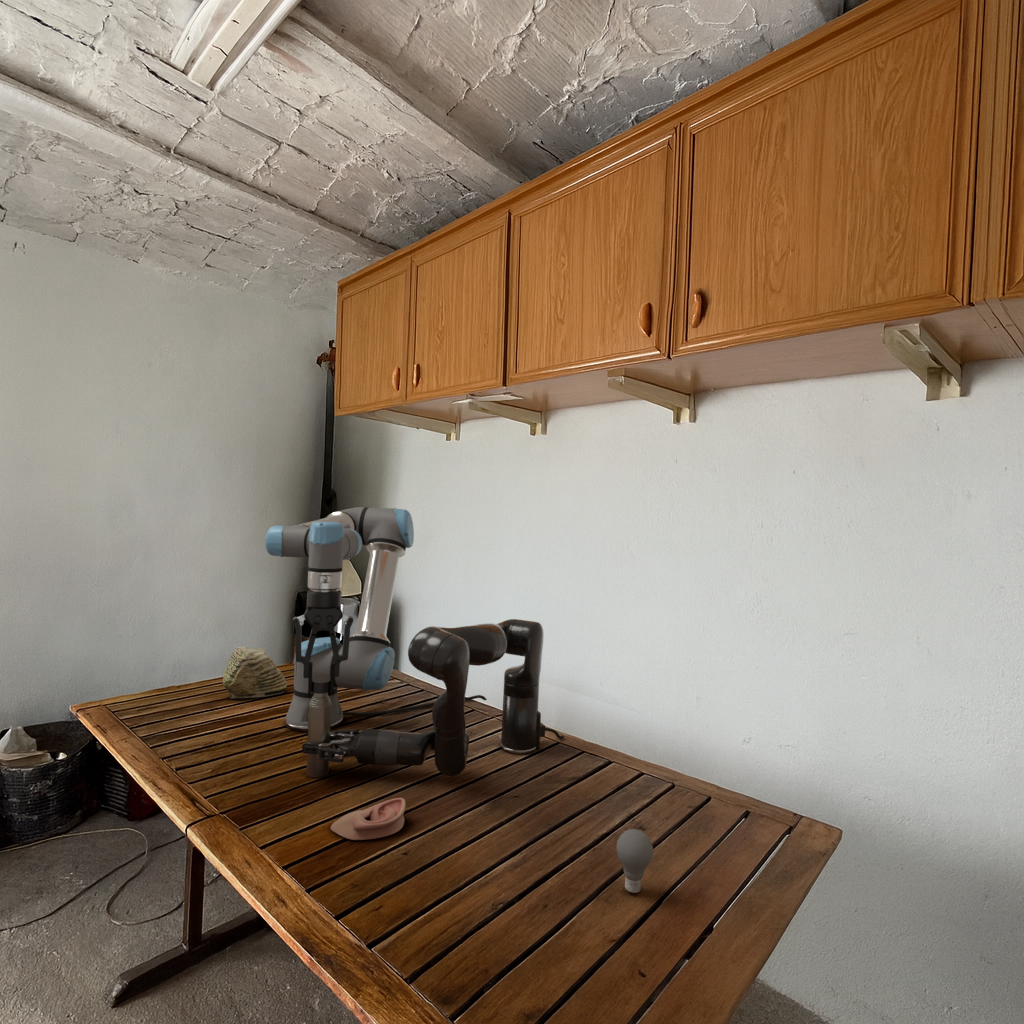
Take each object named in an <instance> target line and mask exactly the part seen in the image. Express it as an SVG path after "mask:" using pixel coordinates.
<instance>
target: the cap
mask: <svg viewBox="0 0 1024 1024" xmlns="http://www.w3.org/2000/svg"><path fill="white" fill-rule="evenodd" d="M328 692H330V679H329V678H315V679H313V680H312V693H316V694H323V693H328Z"/></svg>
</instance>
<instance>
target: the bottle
mask: <svg viewBox="0 0 1024 1024" xmlns="http://www.w3.org/2000/svg"><path fill="white" fill-rule="evenodd" d="M327 694H328V693H323V694H316V693H314V696H313V697H312V699H311V701H310V703H309V721H308V732H307V743H320V744H321V743H329V742H330V733H331V729H330V726H331V700H330V698H329V696H328V695H327ZM328 748H330V747H328ZM306 756H307V757H306V775H307V776H308V777H310V778H323V777H325V776H327V775H328V774H329V772H330V761H326V760H320V759H319V754H306Z"/></svg>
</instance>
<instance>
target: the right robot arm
mask: <svg viewBox="0 0 1024 1024" xmlns="http://www.w3.org/2000/svg"><path fill="white" fill-rule="evenodd" d="M544 634H545V633H544V628H543V625H542V624H541V623H540V622H538V621H534V620H527V619H526V620H525V619H516V618H509V619H506V620H503V621H501V622H498V623H479V624H478V623H477V624H473V625H463V626H458V627H457V626H455V627H443V626H433V625H432V626H431V625H430V626H426V627H424V628H423V629H421V630H419V631H418V632H416V634H415V635H414V637H412V639H411V641H410V643H409V645H408V650H407V657H408V660H409V663H410V664H411V666H413V668H415V669H416V670H417V671H419V672H421V673H423V674H426V675H427V676H429V677H431V678H434V679H436V680H437V681H442V682H443V683H444V686H445V690H444V691H443V692H442V693H441V694H439V696H438V697H437V698H436V700H435V701H434V702H435V703H434V706H432V711H431V717H432V727H433V729H432V730H428V731H423V732H406V731H397V730H392V729H391V730H390V729H373V728H363V729H362V730H359V729H335V730H333V731H332V732H330V742H329V743H321V744H320V743H308V742H303V744H302V746H301V747H302V748H301V753H302V754H306V755H307V754H319V759H320V760H326V761H329V762H333V763H336V764H337V763H338V764H342V763H344V759H345V758H353V757H355V758H356V761H357V763H358V764H360V765H373V766H374V765H375V766H413V767H416V766H422V765H423V764H424V763H425V761H426V759H427V757H428V755H429V754H430V753H431V752H434V764H435V768H436V769H437V770H438V772H439V773H440V774H442V775H443V776H446V777H448V778H449V777H451V778H453V777H457V776H459V775H460V774H461V773H463V772H464V770H465V768H466V766H467V761H468V753H469V745H470V736H469V734H468V733H467V732H466V729H467V728H466V715H465V713H466V712H465V698H466V693H467V692H466V691H467V686H468V680H469V679H468V678H469V669H470V666H477V667H478V666H485V665H489V664H494V663H495V662H498V661H500V660H501V659H502V658H503V657H504V656H505V654H506V655H512V656H516V657H517V656H518V657H524V661H523V663H522V664H520V665H515V666H510V667H508V668H506V669H505V671H504V674H503V696H502V697H503V698H502V714H501V715H502V716H501V718H502V719H501V737H500V748H501V749H502V750H503V751H504V752H507V753H509V754H516V755H517V754H518V755H524V754H530V753H533V752H535V751H538V750H540V746H541V745H540V742H541V738H545V737H546V732H550V733H553V734H554V735H555V736H556V737H557V739H559V740H563V739H565V735H560V734H559V732H558V731H557V730H556V729H553V728H549V727H546V725H545V724H544V723H542V722H541V719H542V713H541V712H540V711H539V700H540V699H539V698H540V697H539V696H540V695H539V694H540V677H541V672H542V671H541V670H542V661H543V660H542V657H543V650H544V639H545V637H544V636H545V635H544ZM328 747H330V748H328Z"/></svg>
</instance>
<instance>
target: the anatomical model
mask: <svg viewBox="0 0 1024 1024" xmlns="http://www.w3.org/2000/svg"><path fill="white" fill-rule="evenodd" d="M406 807H407V804H406V799H405V798H403V797H396V798H391V799H388V800H385V801H382V802H378V803H376V804H374V805H372V806H370V807H367V808H364V809H360V810H355V811H351V812H348V813H347V814H344V815H343V816H341V817H340V818H338V819H336V820H335V821H334V822H333V823H332V824H331V825H330V830H331V832H333V833H335V834H337V835H338V836H339V837H342V838H344V839H346V840H351V841H365V840H374V839H380V838H384V837H388V836H391V835H394V834H395V833H397V832H399V831H400V830H402V829H403V828H404V825H405V816H404V814H405V812H406V811H405V810H406Z"/></svg>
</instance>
